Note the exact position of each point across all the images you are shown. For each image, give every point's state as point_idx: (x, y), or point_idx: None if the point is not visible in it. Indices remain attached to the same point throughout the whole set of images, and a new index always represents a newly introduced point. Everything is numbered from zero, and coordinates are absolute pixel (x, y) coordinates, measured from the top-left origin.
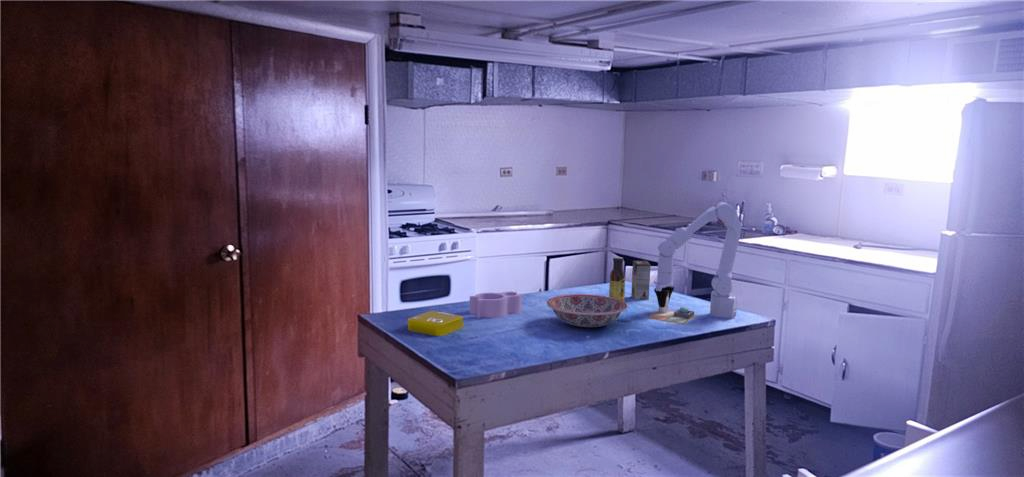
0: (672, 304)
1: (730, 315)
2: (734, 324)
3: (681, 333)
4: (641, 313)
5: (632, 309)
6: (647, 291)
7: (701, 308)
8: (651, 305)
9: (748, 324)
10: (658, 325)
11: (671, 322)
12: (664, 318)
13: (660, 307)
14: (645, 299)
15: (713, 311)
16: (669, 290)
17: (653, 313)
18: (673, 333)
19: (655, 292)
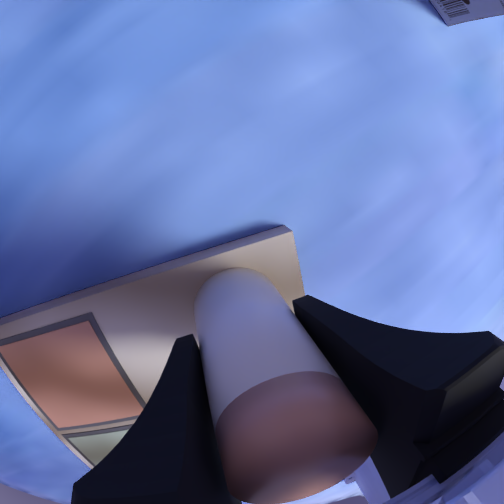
0: (487, 171)
1: (361, 489)
2: (318, 497)
3: (51, 489)
4: (100, 155)
5: (165, 12)
6: (495, 3)
7: (479, 315)
8: (404, 68)
9: (344, 497)
10: (14, 412)
11: (77, 456)
12: (86, 414)
13: (198, 334)
14: (445, 4)
15: (364, 471)
16: (385, 467)
17: (113, 293)
18: (23, 475)
19: (93, 476)
